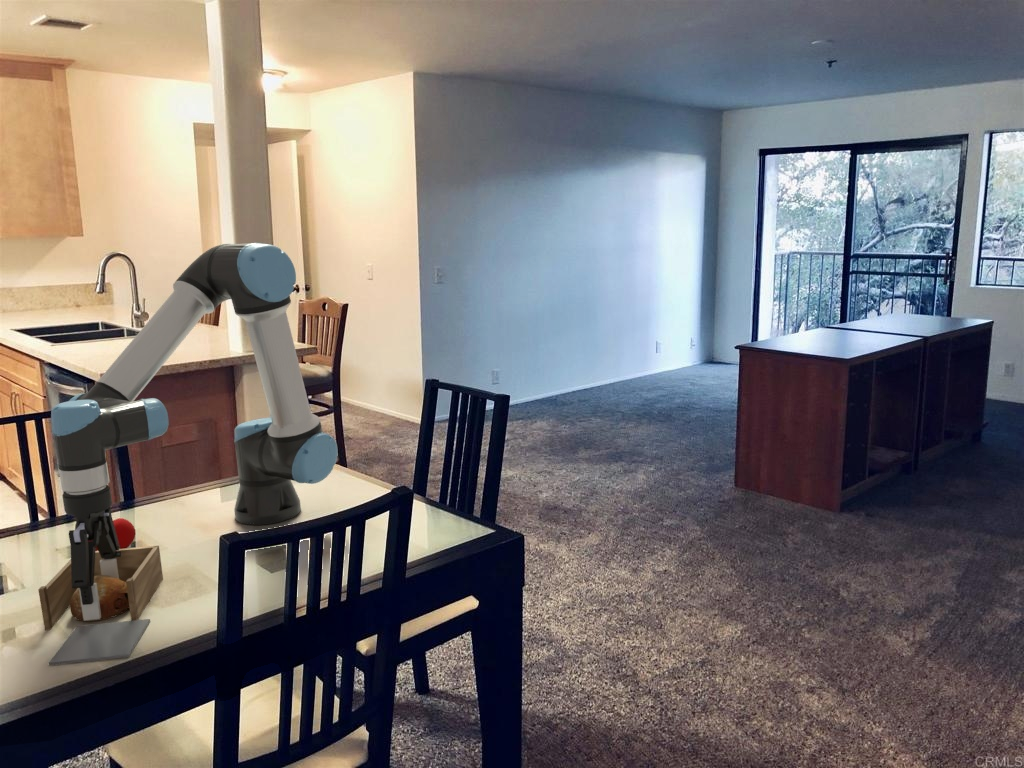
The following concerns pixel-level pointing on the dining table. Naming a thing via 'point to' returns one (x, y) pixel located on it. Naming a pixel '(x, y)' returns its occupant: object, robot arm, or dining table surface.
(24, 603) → the dining table surface
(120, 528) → the red heart shape
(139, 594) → the box
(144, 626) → the slate board
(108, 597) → the bread roll
